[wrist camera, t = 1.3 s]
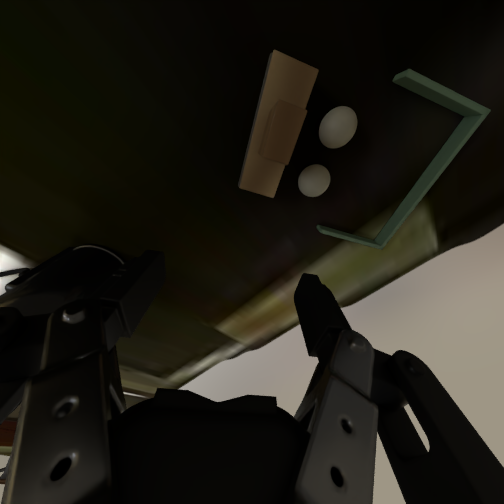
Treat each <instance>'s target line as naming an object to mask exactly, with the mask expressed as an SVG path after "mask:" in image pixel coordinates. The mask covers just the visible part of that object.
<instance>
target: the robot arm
mask: <svg viewBox="0 0 504 504" xmlns="http://www.w3.org/2000/svg"><path fill="white" fill-rule="evenodd" d="M17 273H19V277H18V278H16V279H15V280H13V281H11V282H9V283H8V284H7V285H6V286H5V290H6V293H4V294H2V295H1V296H0V425H1V423H2V422H3V421H4V420H5V419H6V417H7V416H8V415H9V414H11V413H12V412H13V411H14V410H15V409H16V408H17V407H18V406H19V405H20V404H21V407H20V412H19V417H18V422H17V427H16V432H15V437H14V442H13V447H12V452H11V457H10V462H9V467H8V472H7V477H6V482H5V487H4V492H3V497H2V502H1V504H372V502H373V486H374V470H375V455H376V439H377V432H378V434H379V437H380V439H381V442H382V444H383V447H384V449H385V452H386V454H387V457H388V459H389V462H390V464H391V467H392V469H393V472H394V474H395V477H396V479H397V482H398V484H399V487H400V489H401V492H402V494H403V497H404V500H405V502H406V504H504V467H503V466H502V465H501V463H500V462H499V461H498V459H497V458H496V457H495V456H494V454H493V453H492V451H491V450H490V449H489V447H488V446H487V445H486V443H485V442H484V441H483V439H482V438H481V437H480V436H479V434H478V433H477V431H476V430H475V429H474V427H473V426H472V425H471V423H470V422H469V421H468V419H467V418H466V417H465V415H464V414H463V413H462V411H461V410H460V409H459V407H458V406H457V405H456V403H455V402H454V401H453V399H452V398H451V397H450V395H449V394H448V393H447V391H446V390H445V388H443V386H442V384H441V383H440V382H439V381H438V379H437V378H436V376H435V375H434V374H433V373H432V371H431V370H430V369H429V367H428V366H427V365H426V364H425V363H424V362H423V361H422V360H420V359H419V358H417V357H416V356H415V355H413V354H411V353H409V352H407V351H403V350H398V351H396V352H395V353H394V354H393V355H392V356H391V355H388V354H386V353H384V352H381V351H379V350H376V349H374V348H373V347H372V345H371V344H370V343H369V341H368V340H367V339H366V338H365V337H364V336H362V335H361V334H359V333H358V332H356V331H354V330H352V329H351V327H350V325H349V323H348V321H347V320H346V318H345V316H344V314H343V312H342V310H341V308H340V307H339V306H338V303H337V301H336V300H335V297H334V295H333V294H332V292H331V291H330V290H329V289H328V288H327V287H326V286H325V285H323V284H322V283H321V281H320V279H319V277H318V276H317V275H313V274H307V273H304V274H302V276H301V279H300V281H299V283H298V286H297V288H296V290H295V293H294V303H295V307H296V310H297V314H298V318H299V321H300V325H301V329H302V332H303V336H304V339H305V343H306V347H307V351H308V355H309V356H312V357H318V360H319V363H318V364H317V366H316V369H315V371H314V374H313V376H312V379H311V381H310V384H309V386H308V389H307V391H306V394H305V396H304V398H303V401H302V403H301V404H300V406H299V408H298V410H297V412H296V414H295V416H294V417H293V416H292V415H290V414H289V413H288V412H286V411H285V410H283V409H282V408H280V407H277V401H276V397H272V396H259V395H245V396H242V397H238V398H234V399H230V400H226V401H222V402H215V401H212V400H210V399H208V398H205V397H203V396H200V395H198V394H196V393H193V392H191V391H189V390H177V389H164V388H157V391H156V393H155V396H154V398H151V399H147V400H145V401H142V402H140V403H138V404H135V405H133V406H131V407H130V408H128V409H127V406H126V401H125V397H124V393H123V389H122V384H121V378H120V371H119V364H118V357H117V350H116V345H115V344H116V342H117V341H118V339H119V338H120V337H129V338H130V337H131V335H132V334H133V332H134V331H135V329H136V327H137V326H138V324H139V323H140V321H141V319H142V318H143V316H144V315H145V313H146V311H147V310H148V308H149V307H150V305H151V303H152V302H153V300H154V299H155V297H156V295H157V294H158V292H159V291H160V289H161V287H162V286H163V284H164V281H165V277H166V271H165V260H164V253H163V252H160V251H153V250H146V251H145V252H144V253H143V254H142V255H141V256H140V257H139V258H136V257H135V258H133V259H131V260H129V261H127V262H125V261H124V259H123V258H122V257H121V256H119V255H118V254H117V253H115V252H114V251H112V250H110V249H108V248H106V247H103V246H100V245H95V244H85V245H81V246H78V247H77V248H74V247H69V248H67V249H65V250H64V251H62V252H60V253H59V254H57V255H55V256H54V257H52V258H50V259H48V260H47V261H45V262H43V263H42V264H40V265H38V266H37V267H35V268H33V269H32V270H30V269H28V268H22V269H15V270H10V271H5V272H1V273H0V277H2V276H7V275H12V274H17ZM407 404H409V405H410V407H411V409H412V411H413V413H414V414H415V416H416V418H417V420H418V421H419V423H420V425H421V427H422V429H423V430H424V432H425V434H426V436H427V438H428V441H429V445H430V449H429V452H428V451H427V450H426V448H425V446H424V444H423V442H422V440H421V438H420V437H419V435H418V433H417V431H416V429H415V427H414V425H413V424H412V422H411V420H410V418H409V416H408V414H407V412H406V410H405V409H404V406H405V405H407Z"/></svg>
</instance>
